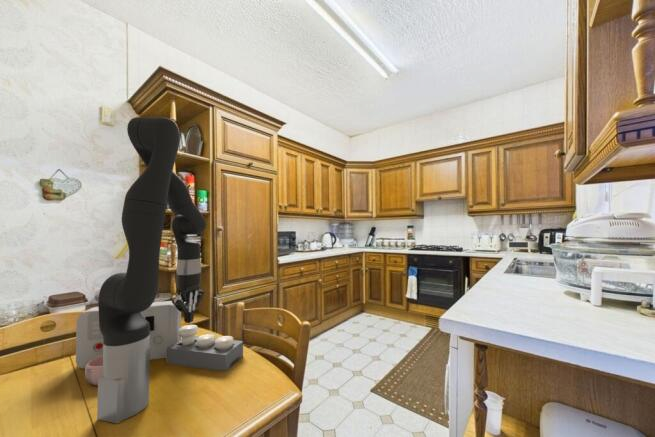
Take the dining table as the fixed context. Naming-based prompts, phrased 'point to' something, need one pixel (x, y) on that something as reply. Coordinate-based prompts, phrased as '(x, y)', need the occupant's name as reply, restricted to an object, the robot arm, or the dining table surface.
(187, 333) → the knob
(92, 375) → the mug
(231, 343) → the knob
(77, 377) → the dining table surface
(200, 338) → the knob
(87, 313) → the rounded white slab
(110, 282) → the robot arm
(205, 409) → the dining table surface
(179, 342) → the mount
